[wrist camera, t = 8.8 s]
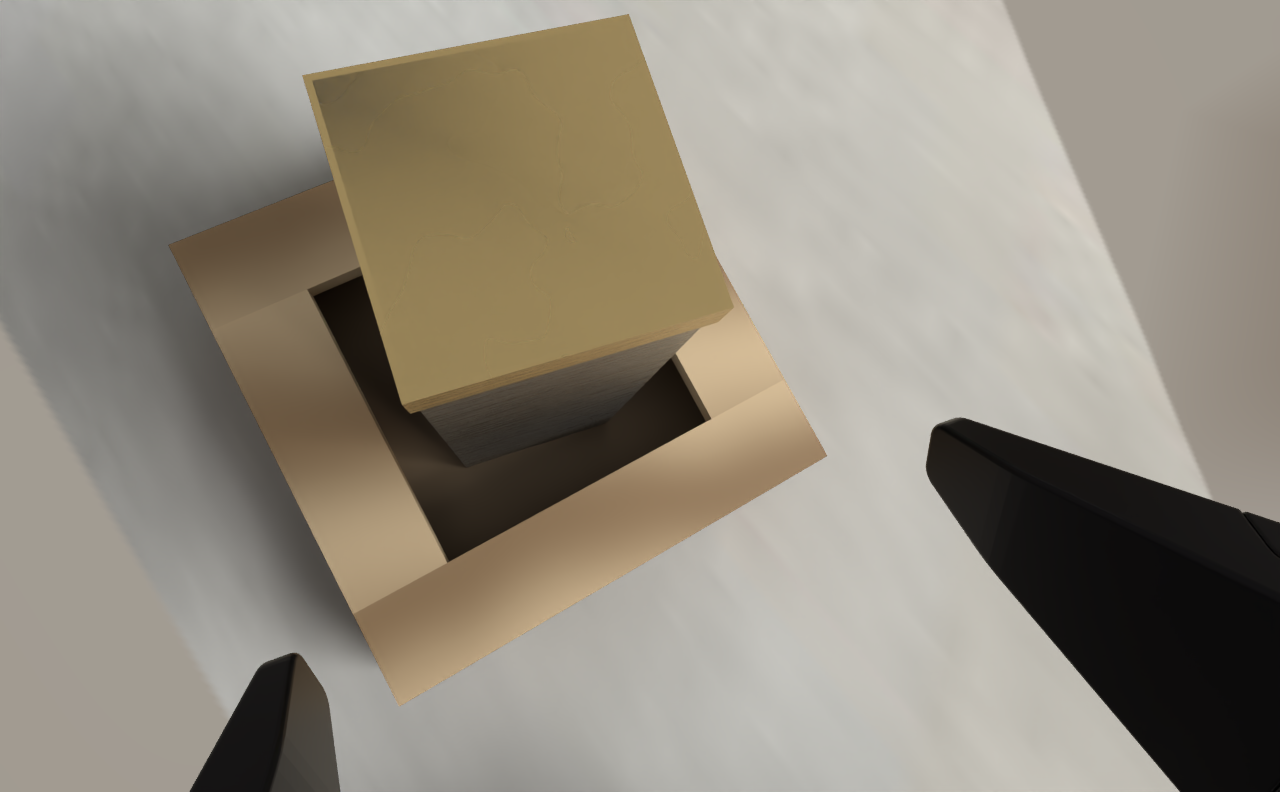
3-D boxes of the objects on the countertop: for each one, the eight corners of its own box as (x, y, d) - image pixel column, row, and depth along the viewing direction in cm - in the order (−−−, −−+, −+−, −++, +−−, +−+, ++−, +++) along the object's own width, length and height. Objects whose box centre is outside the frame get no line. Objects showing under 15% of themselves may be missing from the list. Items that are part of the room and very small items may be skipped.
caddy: (776, 466, 24) (827, 455, 21) (419, 672, 21) (399, 706, 17) (596, 139, 25) (612, 70, 21) (227, 293, 22) (168, 244, 18)
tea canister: (610, 425, 23) (733, 307, 10) (464, 471, 22) (401, 404, 9) (564, 288, 23) (628, 14, 11) (419, 327, 22) (302, 75, 10)
